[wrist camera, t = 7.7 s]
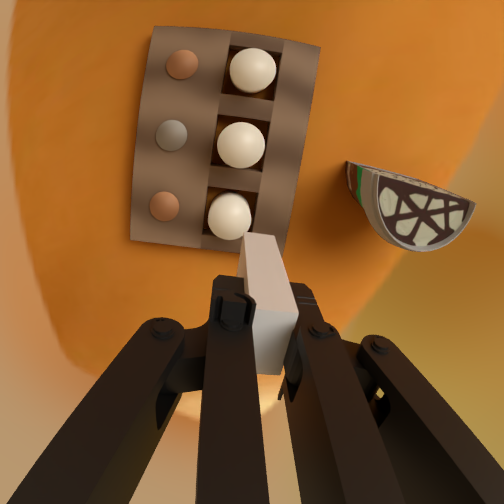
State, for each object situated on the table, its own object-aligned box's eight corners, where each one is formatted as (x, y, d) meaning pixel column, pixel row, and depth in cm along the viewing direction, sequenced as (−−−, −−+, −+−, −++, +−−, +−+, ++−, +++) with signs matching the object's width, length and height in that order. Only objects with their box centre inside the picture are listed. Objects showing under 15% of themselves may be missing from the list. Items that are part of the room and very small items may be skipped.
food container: (321, 213, 34) (353, 248, 25) (333, 157, 32) (372, 173, 22) (413, 230, 35) (460, 264, 26) (426, 181, 33) (480, 204, 24)
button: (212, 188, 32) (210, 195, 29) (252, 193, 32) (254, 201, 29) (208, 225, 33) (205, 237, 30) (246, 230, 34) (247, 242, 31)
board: (158, 31, 25) (153, 25, 23) (315, 51, 27) (321, 46, 25) (135, 233, 34) (129, 240, 31) (279, 250, 35) (282, 259, 33)
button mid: (222, 119, 28) (220, 119, 25) (264, 125, 29) (268, 126, 25) (216, 160, 30) (214, 165, 26) (257, 166, 30) (260, 171, 27)
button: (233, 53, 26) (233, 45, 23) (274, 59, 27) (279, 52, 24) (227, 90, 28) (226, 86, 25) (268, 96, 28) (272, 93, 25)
